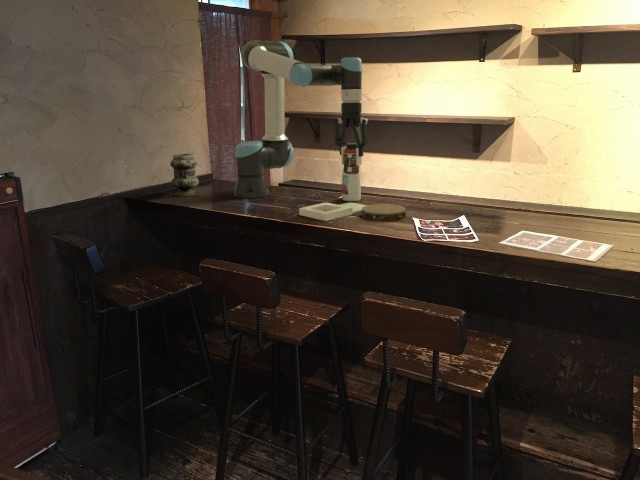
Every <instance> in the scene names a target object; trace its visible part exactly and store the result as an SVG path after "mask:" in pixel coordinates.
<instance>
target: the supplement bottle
mask: <svg viewBox="0 0 640 480" xmlns="http://www.w3.org/2000/svg"><path fill="white" fill-rule="evenodd" d="M345 145H346V146H345V147H346V149H345V150H344V164H343V168H344V173H345V174H358V173H359V168H360V166H361V165H359V166H356V148H357V147H358V145H357V142H356V143H355V142H354V143H353V142H348V143H347V142H346V143H345Z"/></svg>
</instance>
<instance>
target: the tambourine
mask: <svg viewBox="0 0 640 480" xmlns="http://www.w3.org/2000/svg"><path fill="white" fill-rule="evenodd" d="M406 214H407V209H406V207H404V206H402V205H399V204H398V205H397V204H391V203H377V204H376V203H375V204H374V203H373V204H368V205H367V206H364V207H363V208H362V211H361V216H362V218H363V219H365V218H366V220H370V221H377V222H392V221H399V220H403V219H405V218H406V217H407V215H406Z"/></svg>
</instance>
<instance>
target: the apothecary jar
mask: <svg viewBox="0 0 640 480" xmlns="http://www.w3.org/2000/svg"><path fill="white" fill-rule="evenodd" d="M169 165H170V167H171V168H173V178H172V179H171V181H170V182H171V185H172V186H174V187H175V188H177V189H180V190H178V191H177V192H175V193H174V195H175V196H176V197H177V196H178V197H186V196H187V197H189V196H195V195H197V194H198V192H197V191H195V190H194V189H193V190H192V188H195V187H197V186H198V184H199V183H200V180H199V178H197V176H196V167H197V165H198V160H197V159H196V158H195V157H194V154H193V153H187V152H185V153H183V152H182V153H180V152H179V153H174V154H173V157H172V160H171V161H170V162H169Z"/></svg>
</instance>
